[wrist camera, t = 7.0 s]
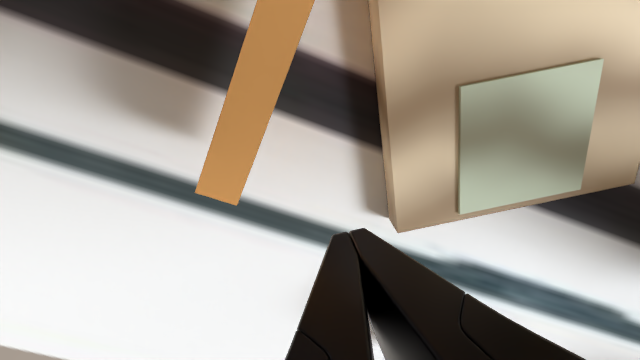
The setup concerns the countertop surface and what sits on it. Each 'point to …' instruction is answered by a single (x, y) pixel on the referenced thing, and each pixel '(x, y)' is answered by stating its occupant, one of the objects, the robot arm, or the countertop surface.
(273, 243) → the countertop surface
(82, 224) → the countertop surface
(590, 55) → the socket board
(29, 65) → the countertop surface
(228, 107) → the clip bar
